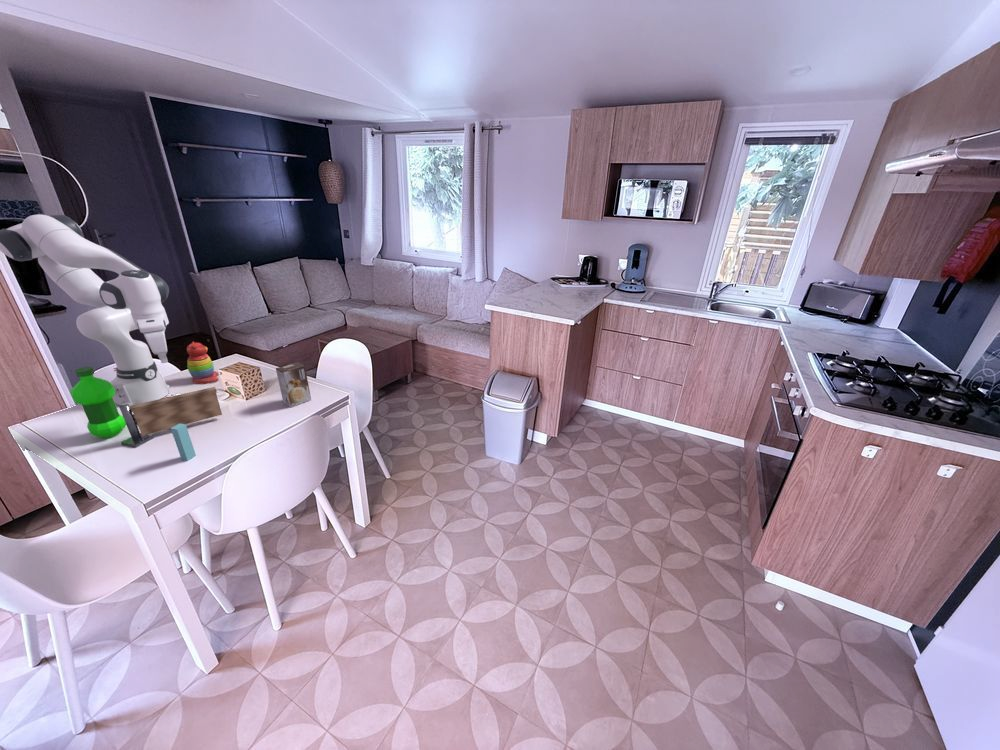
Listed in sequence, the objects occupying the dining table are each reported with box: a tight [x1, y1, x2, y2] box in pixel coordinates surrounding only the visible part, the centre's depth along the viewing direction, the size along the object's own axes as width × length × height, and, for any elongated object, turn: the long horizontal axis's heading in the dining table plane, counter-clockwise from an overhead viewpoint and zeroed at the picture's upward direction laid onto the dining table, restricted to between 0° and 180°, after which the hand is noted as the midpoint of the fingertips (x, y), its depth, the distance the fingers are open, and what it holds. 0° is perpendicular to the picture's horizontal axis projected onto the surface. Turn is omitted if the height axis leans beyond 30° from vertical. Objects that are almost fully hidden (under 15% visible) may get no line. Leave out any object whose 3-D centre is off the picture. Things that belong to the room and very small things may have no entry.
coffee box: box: [275, 361, 312, 408], centre depth 164 cm, size 9×6×16 cm
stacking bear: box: [186, 341, 220, 385], centre depth 178 cm, size 11×10×18 cm
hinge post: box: [118, 404, 154, 448], centre depth 135 cm, size 6×6×14 cm
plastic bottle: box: [70, 366, 127, 439], centre depth 135 cm, size 10×10×25 cm
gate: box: [130, 386, 223, 436], centre depth 143 cm, size 24×2×11 cm, turn 133°
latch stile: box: [170, 423, 197, 462], centre depth 128 cm, size 2×3×12 cm
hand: (164, 358), depth 140 cm, fingers open, 8 cm apart
